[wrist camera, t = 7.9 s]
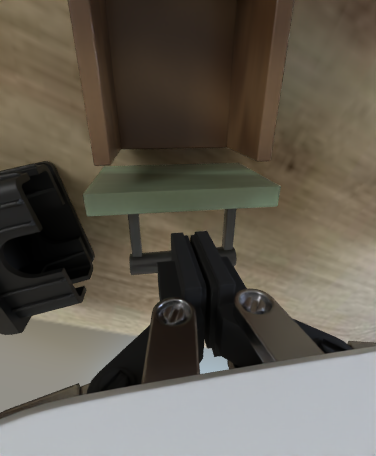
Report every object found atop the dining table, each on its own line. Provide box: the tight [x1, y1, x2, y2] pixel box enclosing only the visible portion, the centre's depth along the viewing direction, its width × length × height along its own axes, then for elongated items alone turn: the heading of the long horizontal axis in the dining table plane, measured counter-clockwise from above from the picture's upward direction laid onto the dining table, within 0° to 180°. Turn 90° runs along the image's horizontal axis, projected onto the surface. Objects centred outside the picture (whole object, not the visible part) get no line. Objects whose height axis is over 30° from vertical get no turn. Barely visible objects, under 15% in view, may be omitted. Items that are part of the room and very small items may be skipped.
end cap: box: [0, 161, 95, 335], centre depth 17 cm, size 10×7×7 cm
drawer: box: [68, 0, 294, 275], centre depth 14 cm, size 19×10×7 cm, turn 0°
